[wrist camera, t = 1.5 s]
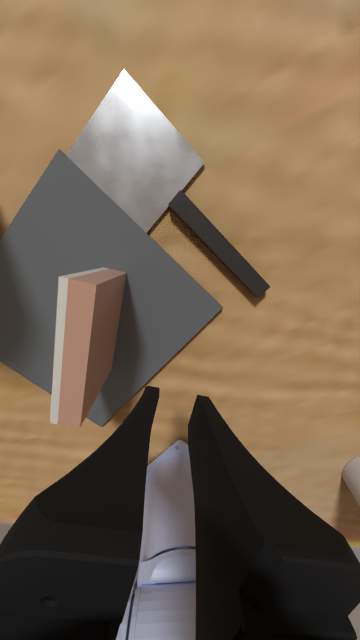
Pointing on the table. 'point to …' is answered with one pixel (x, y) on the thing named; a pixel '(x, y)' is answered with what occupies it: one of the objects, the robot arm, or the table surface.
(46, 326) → the mat
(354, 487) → the dixie cup
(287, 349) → the table surface
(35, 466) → the table surface
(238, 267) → the turner
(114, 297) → the tile
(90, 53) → the table surface
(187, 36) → the table surface
